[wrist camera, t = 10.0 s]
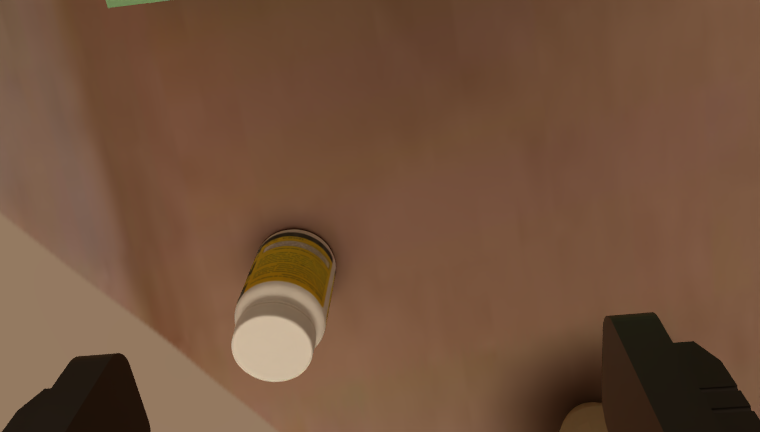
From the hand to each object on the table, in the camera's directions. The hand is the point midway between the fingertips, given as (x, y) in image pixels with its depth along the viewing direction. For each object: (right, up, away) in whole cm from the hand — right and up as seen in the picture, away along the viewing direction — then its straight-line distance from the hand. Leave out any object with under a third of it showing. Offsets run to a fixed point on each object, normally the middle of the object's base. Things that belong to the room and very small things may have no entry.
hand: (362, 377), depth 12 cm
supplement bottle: (-5, 0, +29) cm, 30 cm away
